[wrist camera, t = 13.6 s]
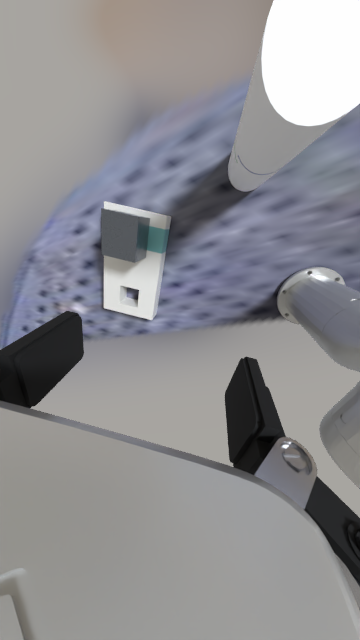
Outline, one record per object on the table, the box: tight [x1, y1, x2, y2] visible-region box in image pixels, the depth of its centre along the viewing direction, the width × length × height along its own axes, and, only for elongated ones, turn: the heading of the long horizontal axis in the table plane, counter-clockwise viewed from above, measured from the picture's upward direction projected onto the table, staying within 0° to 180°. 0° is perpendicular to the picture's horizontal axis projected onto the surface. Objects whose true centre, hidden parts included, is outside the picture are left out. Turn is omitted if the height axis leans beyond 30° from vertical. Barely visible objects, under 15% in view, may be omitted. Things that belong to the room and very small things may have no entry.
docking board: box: [104, 201, 171, 320], centre depth 41 cm, size 22×12×4 cm, turn 168°
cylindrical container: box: [228, 0, 360, 192], centre depth 21 cm, size 7×7×25 cm
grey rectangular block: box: [101, 208, 150, 263], centre depth 35 cm, size 6×7×10 cm
